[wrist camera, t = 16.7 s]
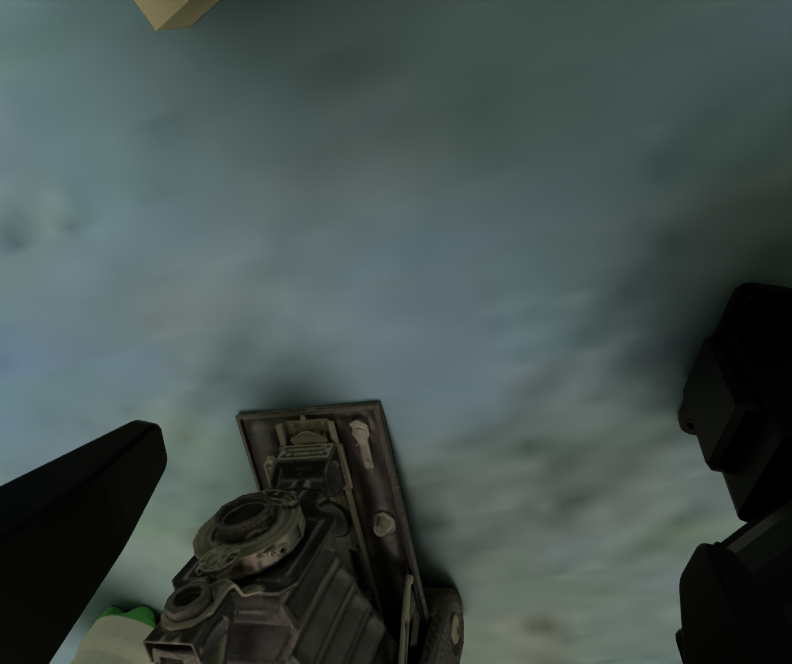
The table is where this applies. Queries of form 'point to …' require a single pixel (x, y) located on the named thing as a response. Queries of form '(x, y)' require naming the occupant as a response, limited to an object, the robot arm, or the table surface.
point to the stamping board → (174, 12)
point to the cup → (117, 638)
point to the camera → (310, 557)
